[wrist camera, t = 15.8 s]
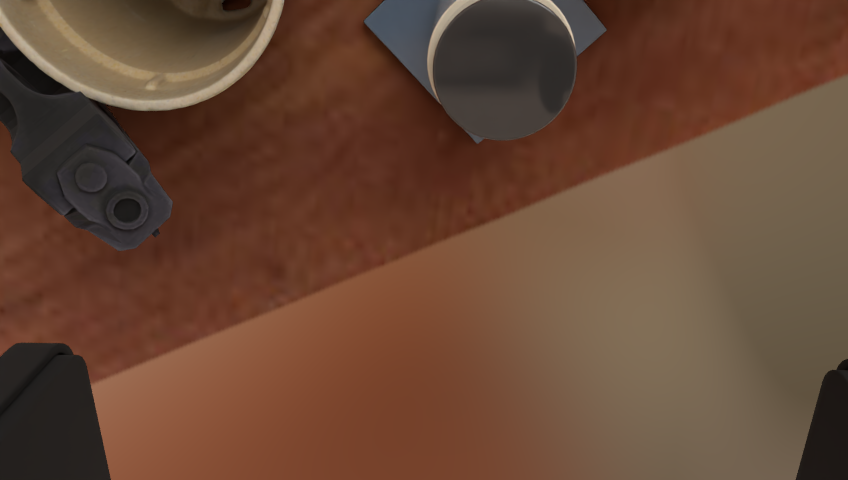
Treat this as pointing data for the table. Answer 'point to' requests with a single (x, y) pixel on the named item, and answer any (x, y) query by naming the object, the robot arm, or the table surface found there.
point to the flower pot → (141, 46)
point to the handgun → (78, 155)
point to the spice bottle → (501, 65)
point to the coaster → (413, 19)
